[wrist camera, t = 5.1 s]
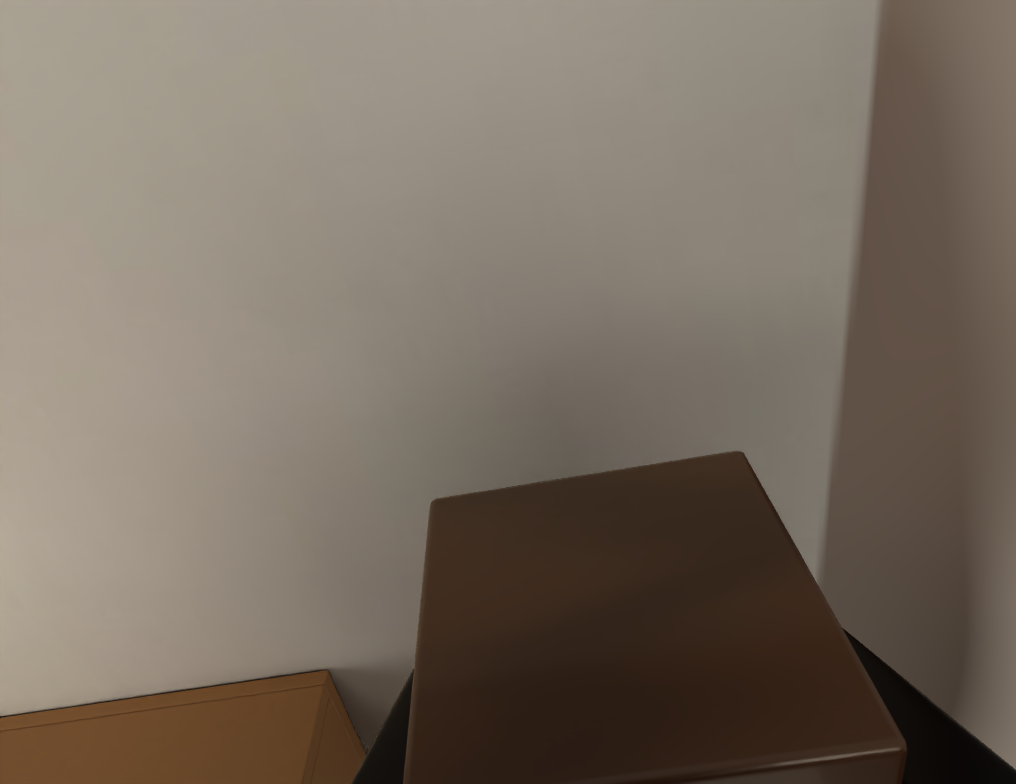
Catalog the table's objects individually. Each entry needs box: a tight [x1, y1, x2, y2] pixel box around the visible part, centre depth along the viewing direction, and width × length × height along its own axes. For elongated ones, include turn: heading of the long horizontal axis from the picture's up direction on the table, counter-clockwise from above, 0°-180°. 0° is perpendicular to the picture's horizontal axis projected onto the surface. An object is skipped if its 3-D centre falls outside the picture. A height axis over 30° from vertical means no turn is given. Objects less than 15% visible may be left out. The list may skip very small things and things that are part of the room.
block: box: [403, 451, 907, 784], centre depth 8 cm, size 4×4×4 cm
